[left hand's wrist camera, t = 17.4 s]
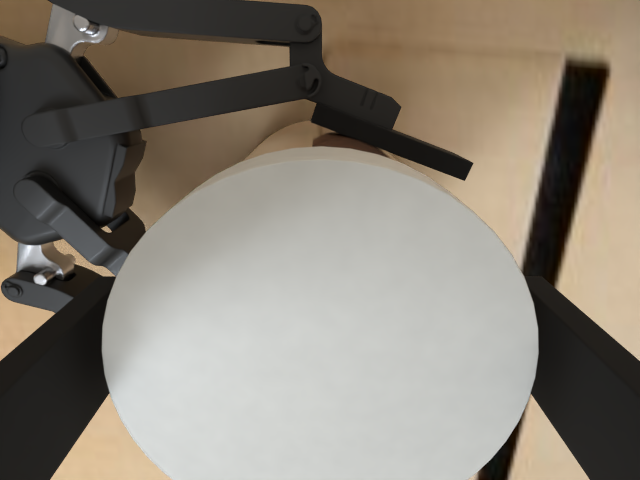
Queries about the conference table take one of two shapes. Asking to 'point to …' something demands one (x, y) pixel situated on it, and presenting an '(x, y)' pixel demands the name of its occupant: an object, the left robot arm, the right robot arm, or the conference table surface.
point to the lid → (320, 327)
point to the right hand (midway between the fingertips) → (406, 274)
